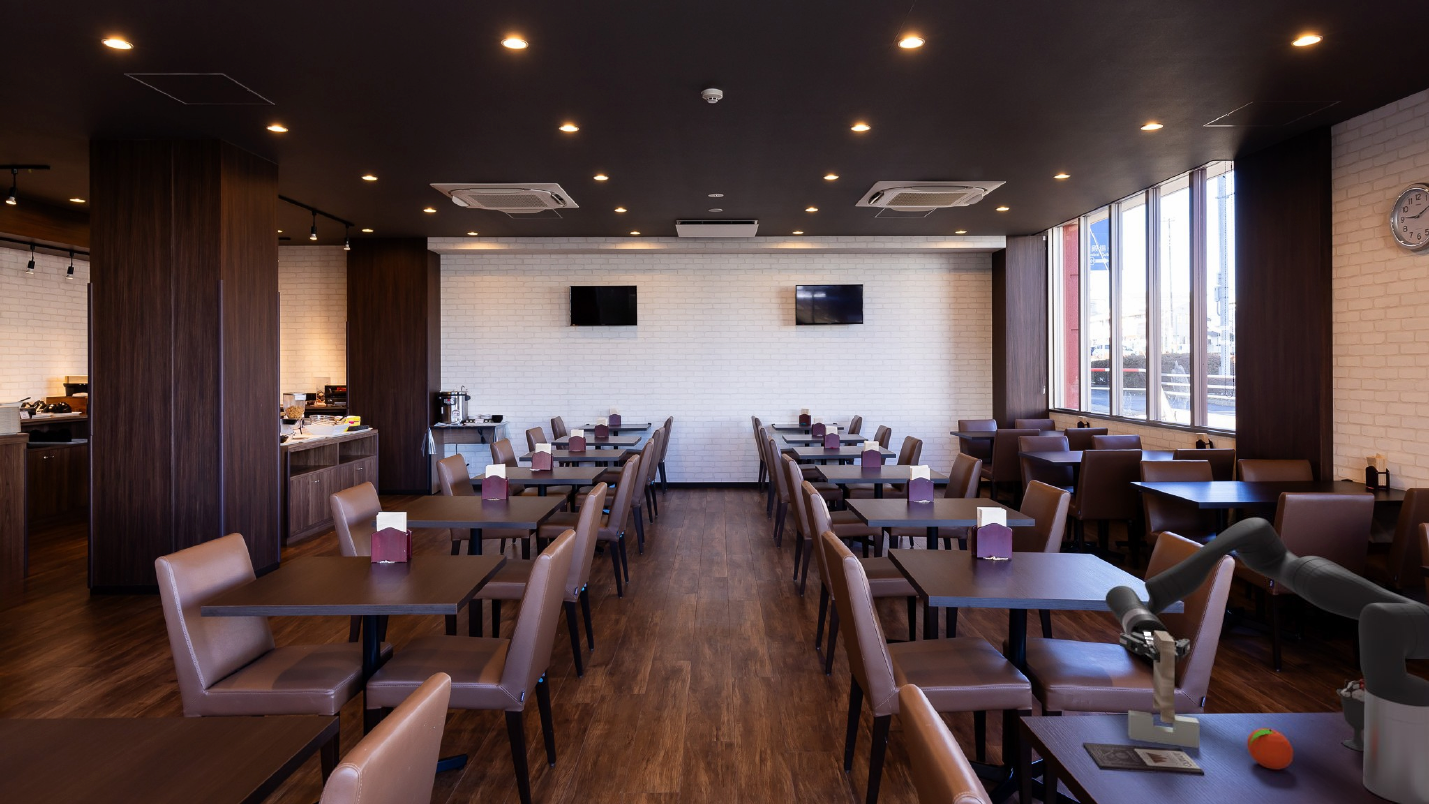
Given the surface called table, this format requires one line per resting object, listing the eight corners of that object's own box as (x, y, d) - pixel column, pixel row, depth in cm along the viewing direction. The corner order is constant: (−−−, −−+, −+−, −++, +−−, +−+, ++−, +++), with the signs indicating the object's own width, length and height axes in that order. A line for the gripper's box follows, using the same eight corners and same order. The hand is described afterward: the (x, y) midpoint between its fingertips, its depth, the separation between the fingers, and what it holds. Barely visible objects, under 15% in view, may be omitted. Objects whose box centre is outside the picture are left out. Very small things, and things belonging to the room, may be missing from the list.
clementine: (1266, 779, 133) (1267, 740, 133) (1232, 760, 140) (1233, 723, 140) (1303, 774, 135) (1303, 736, 135) (1267, 755, 142) (1268, 719, 141)
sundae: (1377, 758, 140) (1379, 680, 140) (1332, 745, 145) (1333, 670, 145) (1383, 747, 145) (1384, 671, 144) (1339, 734, 150) (1340, 662, 149)
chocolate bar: (1083, 742, 146) (1180, 748, 144) (1082, 747, 146) (1180, 753, 144) (1100, 765, 137) (1204, 772, 135) (1100, 770, 137) (1204, 777, 135)
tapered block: (1165, 708, 150) (1165, 630, 150) (1174, 723, 144) (1175, 642, 143) (1152, 706, 151) (1153, 629, 150) (1161, 721, 144) (1162, 641, 144)
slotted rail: (1195, 742, 147) (1195, 718, 147) (1199, 748, 145) (1199, 723, 144) (1128, 734, 150) (1128, 710, 150) (1130, 739, 148) (1130, 714, 148)
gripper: (1180, 650, 160) (1206, 681, 143) (1109, 643, 164) (1127, 673, 147) (1180, 616, 159) (1207, 643, 143) (1109, 610, 164) (1127, 636, 147)
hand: (1166, 658), depth 145 cm, fingers closed on tapered block, 2 cm apart
